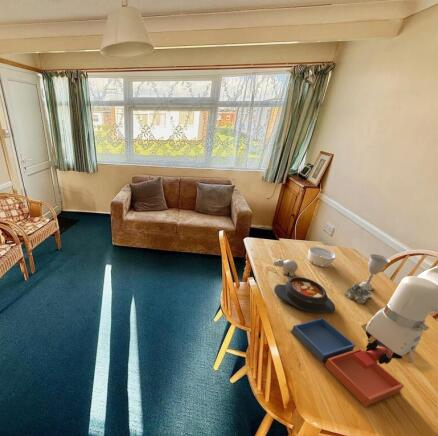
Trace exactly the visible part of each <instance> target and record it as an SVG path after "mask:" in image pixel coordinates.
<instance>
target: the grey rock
mask: <svg viewBox="0 0 438 436" xmlns="http://www.w3.org/2000/svg"><path fill="white" fill-rule="evenodd" d="M371 296H372V291H370V290H367V289H364V288H363V287H361V286H360V285H359V284H357V283H354V284H353V285H351V287H349V288H348V289H347V293H346V297H347V298H348V299H349V300H354V301H356V303H358V304H362V305H363V304H365V303H366V302H367V300H368V299H369V298H371Z"/></svg>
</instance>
